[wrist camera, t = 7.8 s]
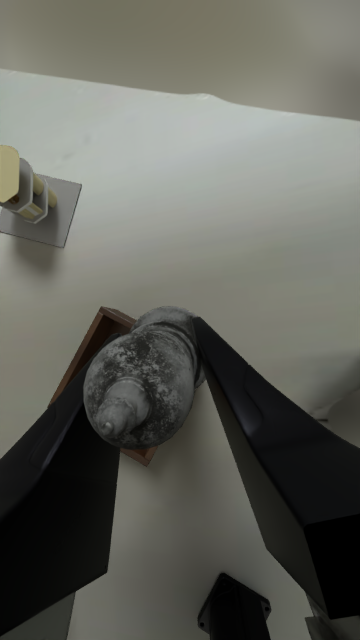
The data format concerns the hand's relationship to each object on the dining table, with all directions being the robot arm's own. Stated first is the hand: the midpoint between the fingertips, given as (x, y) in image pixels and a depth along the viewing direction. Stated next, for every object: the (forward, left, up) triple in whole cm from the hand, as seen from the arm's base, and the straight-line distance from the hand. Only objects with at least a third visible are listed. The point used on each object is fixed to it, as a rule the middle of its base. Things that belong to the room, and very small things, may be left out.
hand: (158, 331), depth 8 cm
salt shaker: (-1, -1, -6) cm, 7 cm away
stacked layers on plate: (+6, +24, -13) cm, 28 cm away
